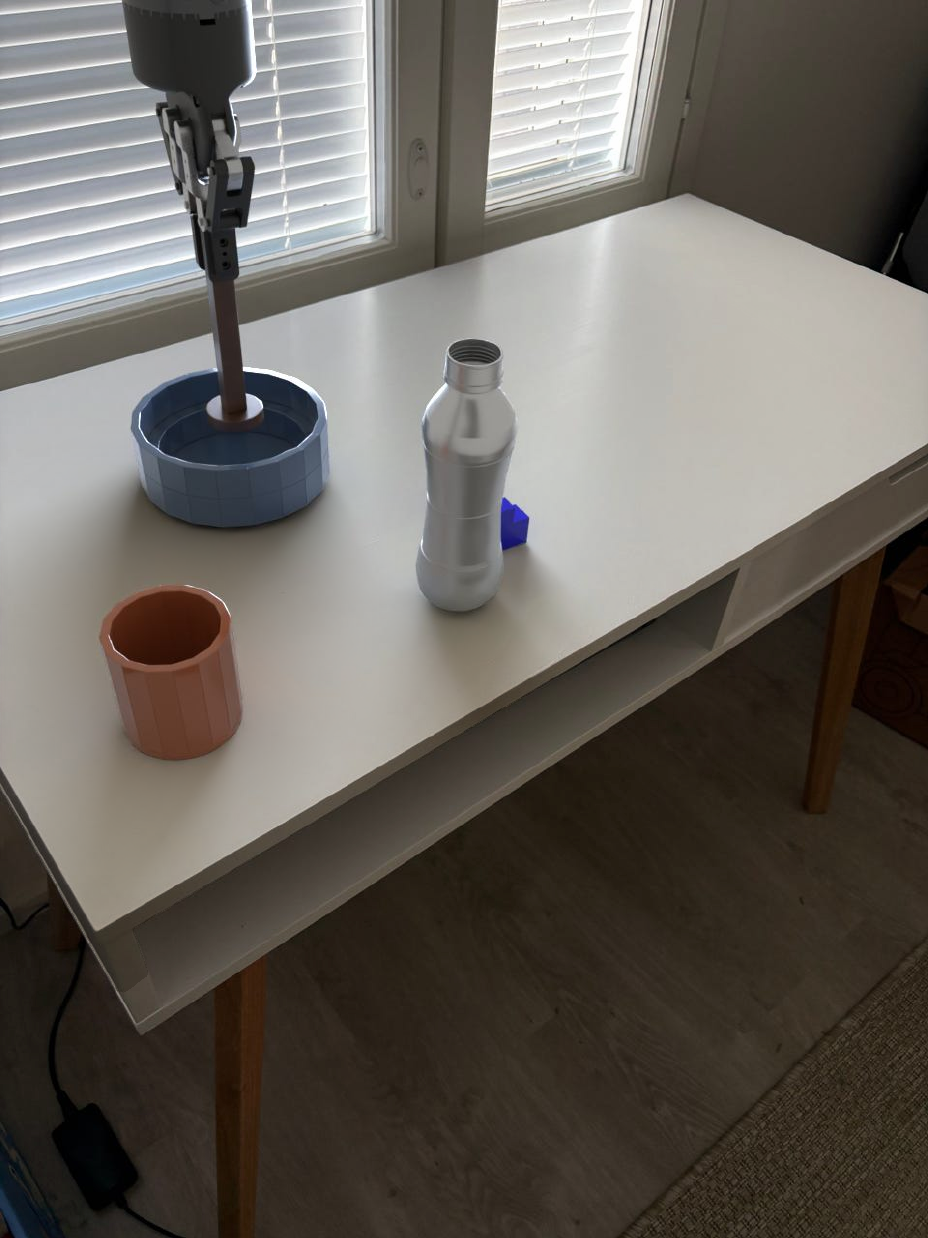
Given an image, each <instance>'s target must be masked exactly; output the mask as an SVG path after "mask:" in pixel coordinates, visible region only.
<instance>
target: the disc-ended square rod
mask: <svg viewBox="0 0 928 1238" xmlns="http://www.w3.org/2000/svg"><path fill="white" fill-rule="evenodd" d="M199 227H200V226H199ZM200 228H201V227H200ZM200 235H201V230H200ZM201 243H202V239H201ZM202 251H203V247H202ZM203 259H204V255H203ZM204 267H205V263H204ZM204 274H205V283H206V290H207V291H206V292H207V297H208V308H209V313H210V314H209V315H210V316H209V317H210V324H211V331H212V332H211V333H212V338H213V347H214V356H215V365H216V368H217V373H218V381H219V389H220V396H217V397H215V398H213V399H212V400H211V401H209V403H208V404H207V406H206V415H207V421H208V423H209V424H210V426H212V427H213V428H215V429H217V430H219V431H223V432H229V433H238V432H245V431H248V430H251V429H253V428H255V427H257V426H258V425H260V423H261V422H262V421H263V418H264V414H263V405H262V403H261V401H260V400H259V399H258V398H256V397H254V396H252V395H249V394H246V391H245V381H244V372H243V367H244V364H243V354H242V353H243V352H242V344H241V335H240V325H239V313H238V304H237V296H236V287H235V280H230V281H224V282H218V283H213V282H211V281H210V279H209V278H208V277H207V275H206V271H205V270H204Z"/></svg>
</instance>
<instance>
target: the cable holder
mask: <svg viewBox="0 0 928 1238" xmlns="http://www.w3.org/2000/svg"><path fill="white" fill-rule="evenodd" d="M529 525H530V516H529V515H528V514H527V513H525V511H524V510H522V509H521V508H520V506H519V505H518V504H516V503H514V504H512V503H511V502H510V500H508V499H507V497H505V496H503V498H502V504H501V546H502V552H503V551H505V550H508V549H511V548H514V547H518V546H520V545H524V544H525V543H526V544H527V540H528V533H529Z"/></svg>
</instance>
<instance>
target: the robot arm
mask: <svg viewBox="0 0 928 1238" xmlns="http://www.w3.org/2000/svg"><path fill="white" fill-rule="evenodd" d="M121 4H122V12H123V18H124V24H125V31H126V36H127V43H128V49H129V56H130V62H131V69H132V74H133V75H134V77H135V79H136V80H137V81H138V82H139V83H141V84H142V85H144V86H145V87H147V88H149V89H151V90H155V91H159V92H163V93H165V100H166V101H159V102H156V103H155V107H156V108H155V115H156V117H157V119H158V123H159V126H160V127H159V128H160V130H161V134H162V138H163V142H164V147H165V150H166V155H167V159H168V162H169V166H170V169H171V173H172V177H173V181H174V188H175V190H176V192H177V195H178V196H183V206H184V207H183V208H184V209H185V210H186V213H187V215H189V217H190V225H191V234H192V241H193V247H194V255H195V263H196V264H197V266H198V267H199V269H201V270H203V271H204V272H205V271H206V275H207V277H208V278H209V279H210V281H211V282H213V283H218V282H224V281H230V280H234V281H235V280H237V279H238V278H239V276H240V266H239V265H240V264H239V256H238V254H239V253H238V243H237V236H236V229H243V228H247V227H248V222H249V217H250V216H249V215H250V209H251V201H252V195H253V188H254V182H255V174H256V173H255V172H256V165H255V162H254V160H253V157H252V156H251V155H244V156H240V150H239V149H240V146H241V145H242V133H241V124H240V120H239V118H238V115H237V114H234V112H233V106H232V103H231V101H230V100H231V96H232V95H233V93H234V92H235V91H236V90H239V88H240V89H241V88H245V87H246V86H248V85H249V84H251V83H252V82H253V80H254V79H255V77H256V75H257V61H256V51H255V50H256V49H255V48H256V46H255V35H254V24H253V23H254V22H253V21H254V20H253V9H252V0H121ZM199 226H200V227H201V228H200V227H199ZM200 230H201V235H200ZM201 239H202V243H201ZM202 247H203V251H202ZM203 255H204V259H203ZM204 263H205V267H204ZM206 275H205V276H206Z"/></svg>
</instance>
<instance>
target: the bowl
mask: <svg viewBox="0 0 928 1238" xmlns="http://www.w3.org/2000/svg"><path fill="white" fill-rule="evenodd" d="M243 372H244V381H245V391H246V394H249V395H252V396H254V397H256V398H258V399H259V400H260V401H261V403H262V405H263V414H264V418H263V421H262V422H261V423H260V425H258V426H257V427H255V428H253V429H251V430H248V431H245V432H238V433H229V432H223V431H219V430H217V429H215V428H213V427H212V426H210V424H209V423H208V421H207V415H206V406H207V404H208V403H209V401H211V400H212V399H213V398H215V397H217V396H220V389H219V381H218V373H217V367H215V368H208V369H203V370H199V371H193V372H188V373H184V374H183V375H179V376H177V377H175V378H172V379H169V380H167V381H165V382H162V383H160V384H159V385H158V386H157V387H155V388H154V389H152V390H151V391H149V392H148V393H146V394H145V395H144V396H142V398H141V399H140V400H139V402H138V403H137V404H136V406H135V408H134V409H133V410H132V412H131V421H130V434H131V439H132V444H133V448H134V449H133V450H134V453H135V458H136V463H137V469H138V473H139V474H138V475H139V479H140V484H141V487H142V488H143V490H144V492H145V494H146V496H147V498H148V500H149V501H150V502H152V503H153V504H154V505H155V506H156V507H158V508H159V509H160V510H161V511H163V512H164V513H166V514H167V515H168V516H171V517H173V518H176V519H179V520H182V521H185V522H188V523H190V524H194V525H199V526H200V525H202V526H208V527H217V528H234V527H248V526H249V527H250V526H258V525H260V524H265V523H268V522H272V521H275V520H279V519H283V518H285V517H287V516H289V515H291V514H293V513H295V512H297V511H298V510H301V509H302V508H304V507H306V506H308V505H309V504H310V503H311V502H312V501H313V500H314V499H315V498H316V497H317V496H318V495H319V494H320V493H322V491H323V490H324V487H325V486H326V482H327V480H328V478H329V475H330V455H329V434H328V433H329V431H328V417H327V409H326V404H325V402H324V400H322V398H321V397H320V395H319V394H318V393H317V392H316V391H315V389H314V388H312V387H311V386H309V385H308V384H306V383H304V382H303V381H301V380H299V379H298V378H296V377H293V376H290V375H287V374H285V373H284V374H283V373H280V372H277V371H274V370H270V369H263V368H254V367H245V366H243Z"/></svg>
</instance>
